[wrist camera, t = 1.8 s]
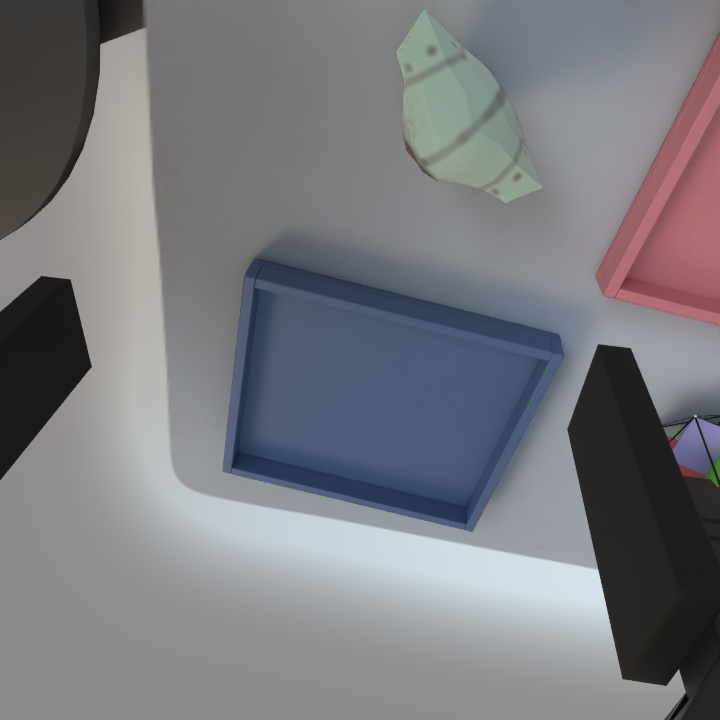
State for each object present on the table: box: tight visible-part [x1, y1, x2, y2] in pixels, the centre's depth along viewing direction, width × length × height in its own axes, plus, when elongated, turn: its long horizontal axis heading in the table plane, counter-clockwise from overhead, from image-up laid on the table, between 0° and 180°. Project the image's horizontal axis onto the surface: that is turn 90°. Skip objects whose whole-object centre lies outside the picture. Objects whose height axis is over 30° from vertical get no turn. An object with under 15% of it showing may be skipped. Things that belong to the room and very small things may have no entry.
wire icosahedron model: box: [663, 415, 720, 489], centre depth 34 cm, size 7×7×8 cm
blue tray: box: [222, 259, 564, 532], centre depth 37 cm, size 17×15×2 cm
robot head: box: [396, 9, 543, 203], centre depth 25 cm, size 8×4×7 cm, turn 40°
